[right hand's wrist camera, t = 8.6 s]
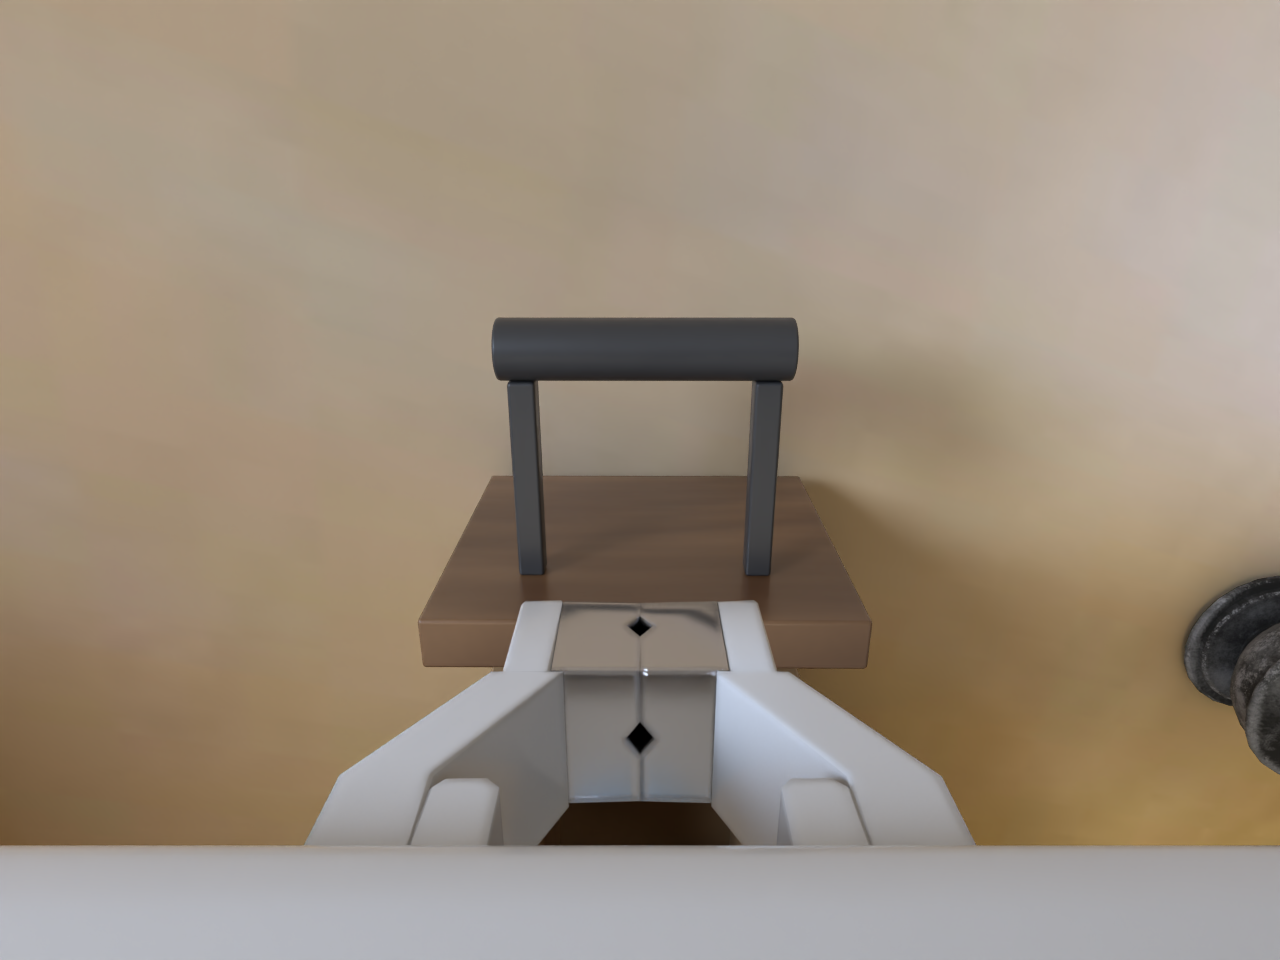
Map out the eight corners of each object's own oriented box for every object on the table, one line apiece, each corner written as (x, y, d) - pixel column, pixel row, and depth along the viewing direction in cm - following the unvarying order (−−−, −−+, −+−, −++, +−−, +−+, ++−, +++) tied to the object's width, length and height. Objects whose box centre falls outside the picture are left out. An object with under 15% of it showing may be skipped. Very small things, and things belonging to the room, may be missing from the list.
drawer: (476, 280, 22) (382, 339, 14) (814, 280, 22) (909, 339, 14) (525, 918, 31) (484, 1171, 23) (764, 919, 31) (804, 1174, 23)
